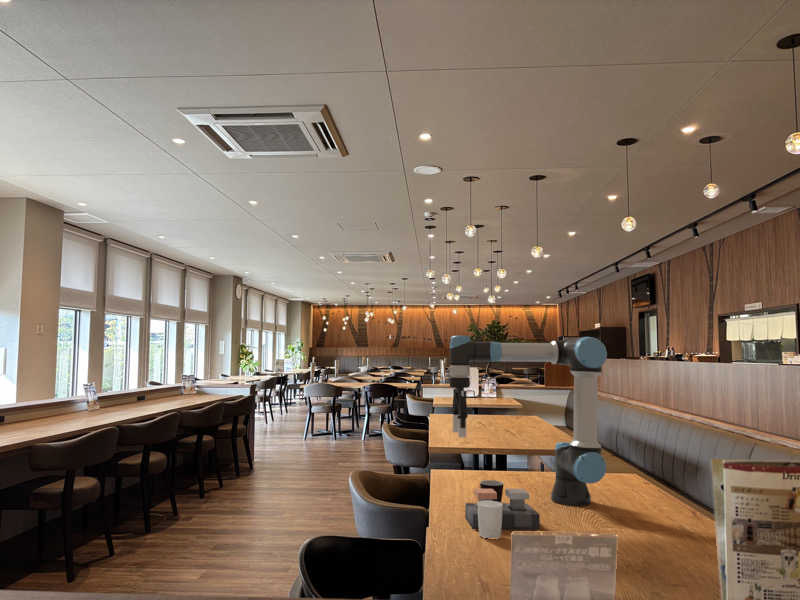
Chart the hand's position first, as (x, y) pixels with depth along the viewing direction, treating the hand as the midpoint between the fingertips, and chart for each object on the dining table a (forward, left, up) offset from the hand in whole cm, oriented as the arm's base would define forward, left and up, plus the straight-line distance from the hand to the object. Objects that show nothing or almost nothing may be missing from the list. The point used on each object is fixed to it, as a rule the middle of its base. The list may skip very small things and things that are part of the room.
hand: (459, 434), depth 207 cm
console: (-12, +16, -27) cm, 34 cm away
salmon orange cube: (-6, +16, -22) cm, 29 cm away
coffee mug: (-13, -2, -28) cm, 30 cm away
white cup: (-5, +30, -28) cm, 41 cm away
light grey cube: (-17, +16, -23) cm, 33 cm away
